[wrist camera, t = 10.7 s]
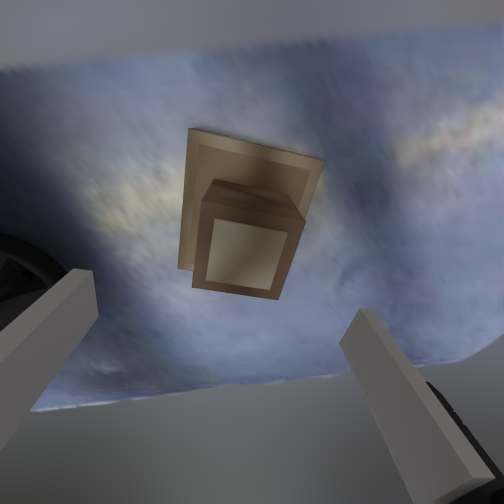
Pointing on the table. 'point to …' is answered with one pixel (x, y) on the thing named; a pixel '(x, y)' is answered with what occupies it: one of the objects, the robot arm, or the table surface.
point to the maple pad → (239, 178)
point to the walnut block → (245, 240)
